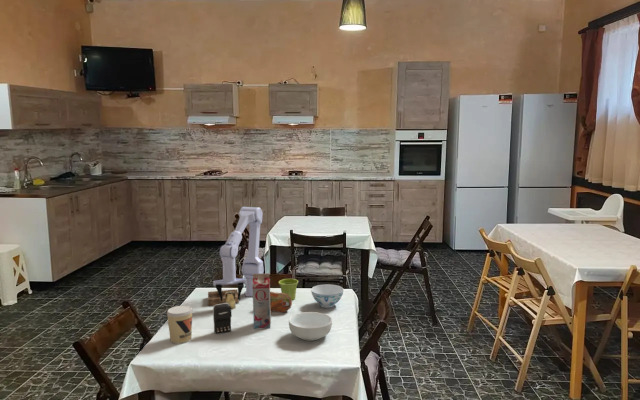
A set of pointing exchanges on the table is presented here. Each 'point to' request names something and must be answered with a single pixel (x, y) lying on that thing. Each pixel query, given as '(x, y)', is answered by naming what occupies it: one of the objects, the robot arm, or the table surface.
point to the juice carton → (261, 301)
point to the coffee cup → (180, 324)
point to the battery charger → (222, 318)
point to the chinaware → (327, 294)
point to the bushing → (230, 299)
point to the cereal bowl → (310, 325)
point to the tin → (280, 302)
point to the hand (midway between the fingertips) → (230, 299)
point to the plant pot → (289, 287)
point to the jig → (215, 297)
